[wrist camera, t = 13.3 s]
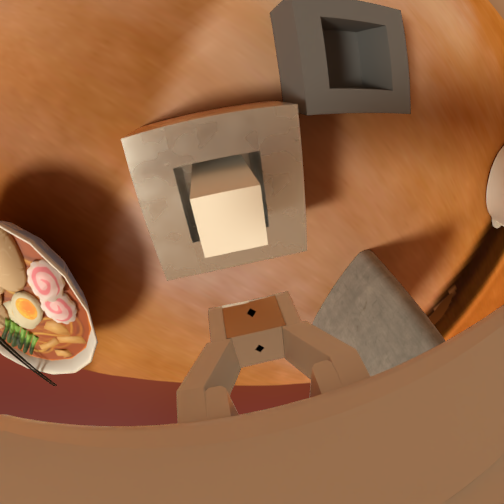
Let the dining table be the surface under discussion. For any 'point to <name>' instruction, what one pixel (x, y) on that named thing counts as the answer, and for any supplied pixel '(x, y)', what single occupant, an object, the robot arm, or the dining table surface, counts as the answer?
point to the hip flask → (376, 316)
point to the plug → (227, 206)
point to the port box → (212, 147)
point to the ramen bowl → (41, 307)
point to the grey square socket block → (341, 57)
